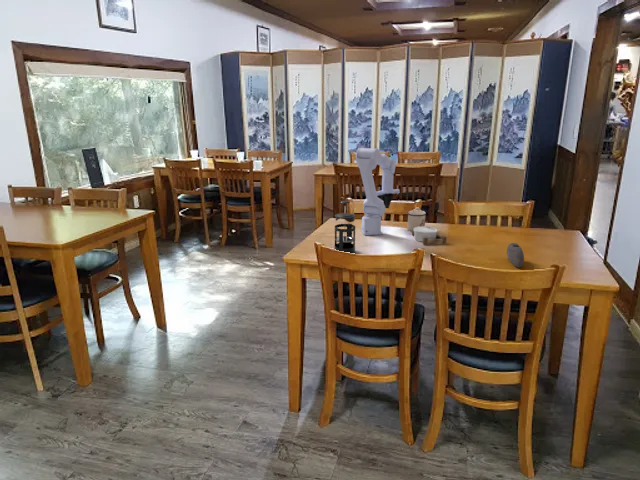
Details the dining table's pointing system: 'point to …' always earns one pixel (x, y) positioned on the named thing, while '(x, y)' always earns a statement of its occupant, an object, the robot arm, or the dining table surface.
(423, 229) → the ramekin
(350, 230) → the french press
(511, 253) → the perforated stone tool
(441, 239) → the walnut cradle
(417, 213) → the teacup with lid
